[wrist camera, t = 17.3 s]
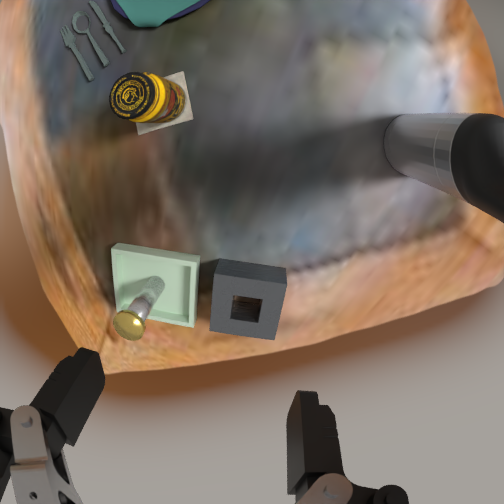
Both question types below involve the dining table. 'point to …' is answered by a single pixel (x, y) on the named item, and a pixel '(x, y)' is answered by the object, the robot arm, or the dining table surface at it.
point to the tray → (169, 270)
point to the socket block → (247, 285)
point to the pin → (138, 310)
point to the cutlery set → (139, 12)
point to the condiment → (151, 100)
